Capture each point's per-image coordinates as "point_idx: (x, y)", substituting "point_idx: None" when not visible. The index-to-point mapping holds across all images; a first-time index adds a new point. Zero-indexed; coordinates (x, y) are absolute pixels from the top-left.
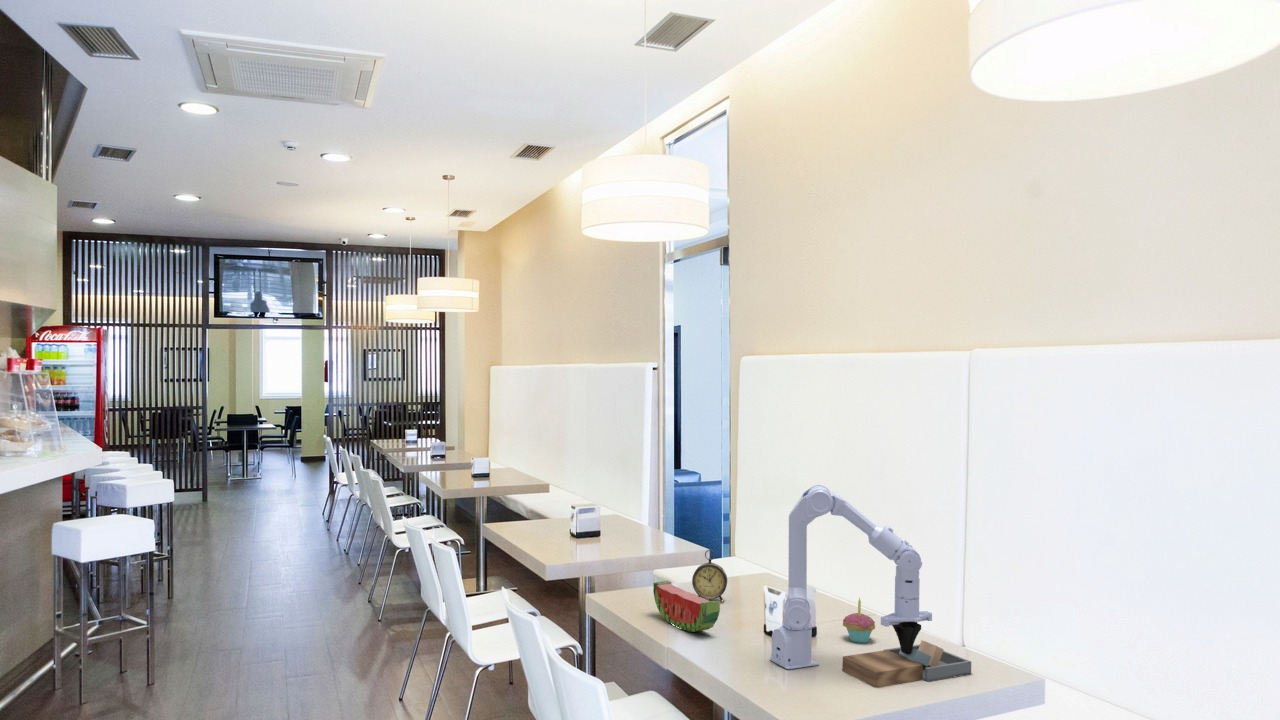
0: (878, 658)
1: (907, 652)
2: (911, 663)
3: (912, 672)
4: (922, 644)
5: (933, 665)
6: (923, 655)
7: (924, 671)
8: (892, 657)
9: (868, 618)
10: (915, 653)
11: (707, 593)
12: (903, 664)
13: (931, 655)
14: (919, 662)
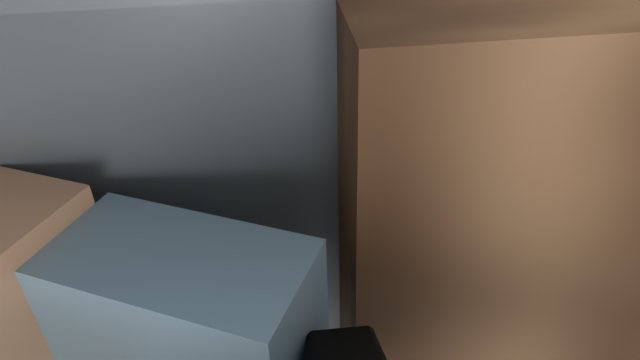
0: (636, 342)
1: (376, 342)
2: (456, 146)
3: (522, 13)
4: None
5: (29, 185)
6: (148, 279)
7: (180, 145)
8: (485, 339)
9: None
10: (295, 300)
11: None
12: (581, 146)
13: (3, 281)
14: (225, 220)
